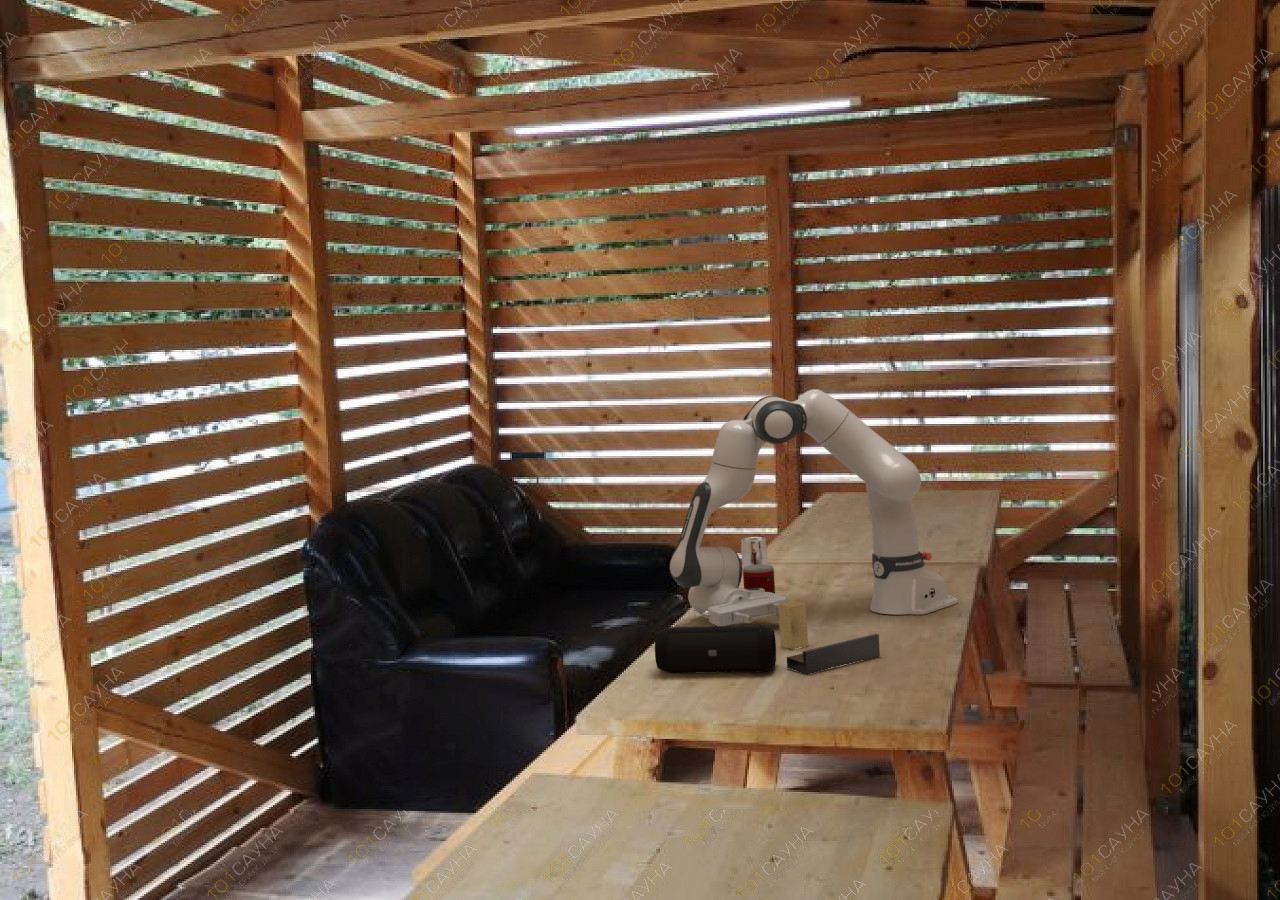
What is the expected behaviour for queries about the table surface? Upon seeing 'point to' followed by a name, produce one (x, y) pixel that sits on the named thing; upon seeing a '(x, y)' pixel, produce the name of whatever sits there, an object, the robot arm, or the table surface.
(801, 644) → the wooden block
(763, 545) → the beer glass
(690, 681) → the table surface
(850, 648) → the rail
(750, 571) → the canned food
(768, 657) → the portable speaker
